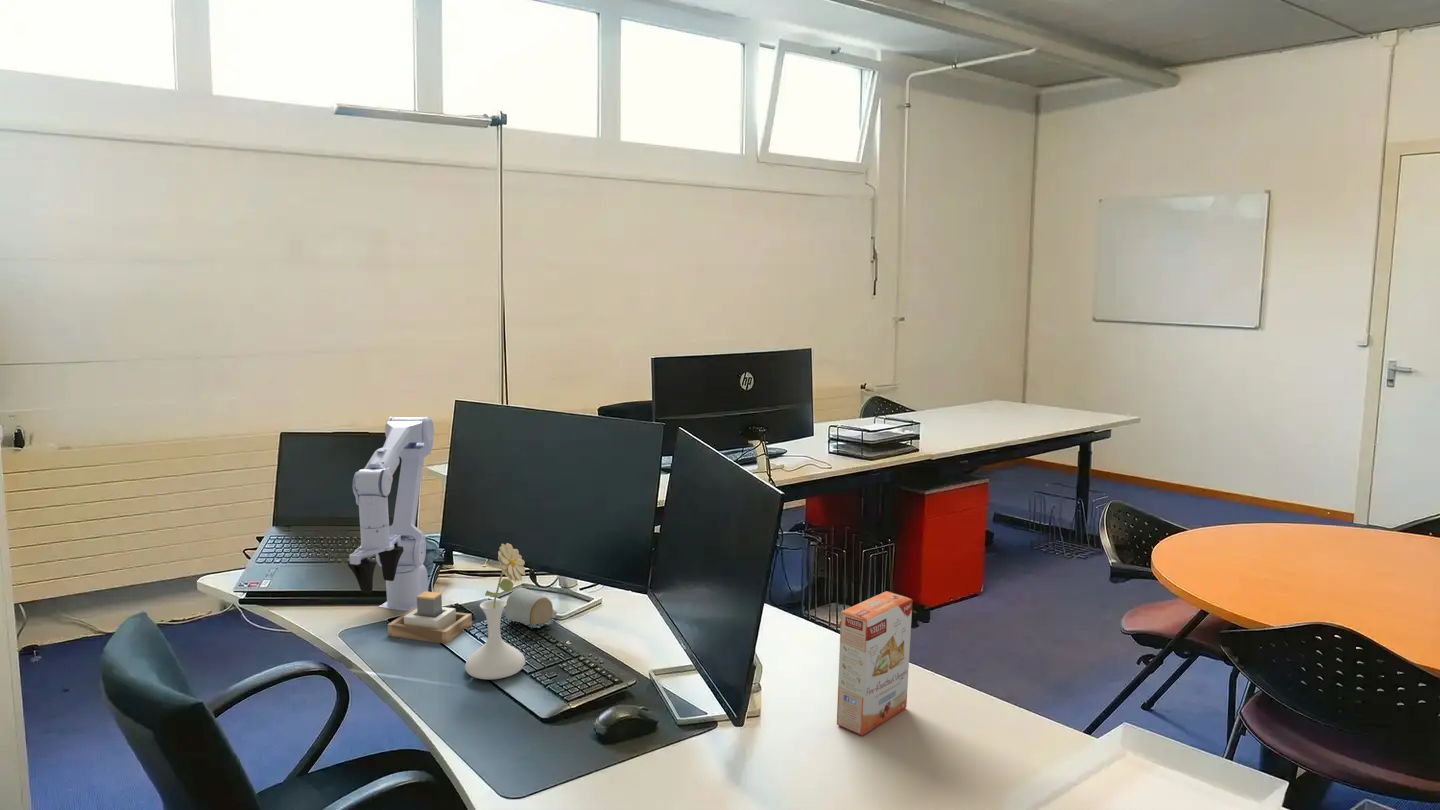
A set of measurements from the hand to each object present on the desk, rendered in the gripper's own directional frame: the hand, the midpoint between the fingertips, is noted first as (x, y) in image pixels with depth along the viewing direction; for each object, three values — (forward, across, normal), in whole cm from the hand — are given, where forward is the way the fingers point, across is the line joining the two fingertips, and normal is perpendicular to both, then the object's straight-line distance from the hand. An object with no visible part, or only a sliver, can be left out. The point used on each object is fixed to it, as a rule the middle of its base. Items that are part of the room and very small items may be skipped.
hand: (378, 586), depth 191 cm
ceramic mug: (+10, +13, -30) cm, 34 cm away
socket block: (+9, +2, -11) cm, 15 cm away
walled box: (+10, +2, -11) cm, 15 cm away
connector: (+8, +2, -11) cm, 14 cm away
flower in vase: (+10, -10, -34) cm, 37 cm away
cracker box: (+10, -8, -106) cm, 107 cm away
